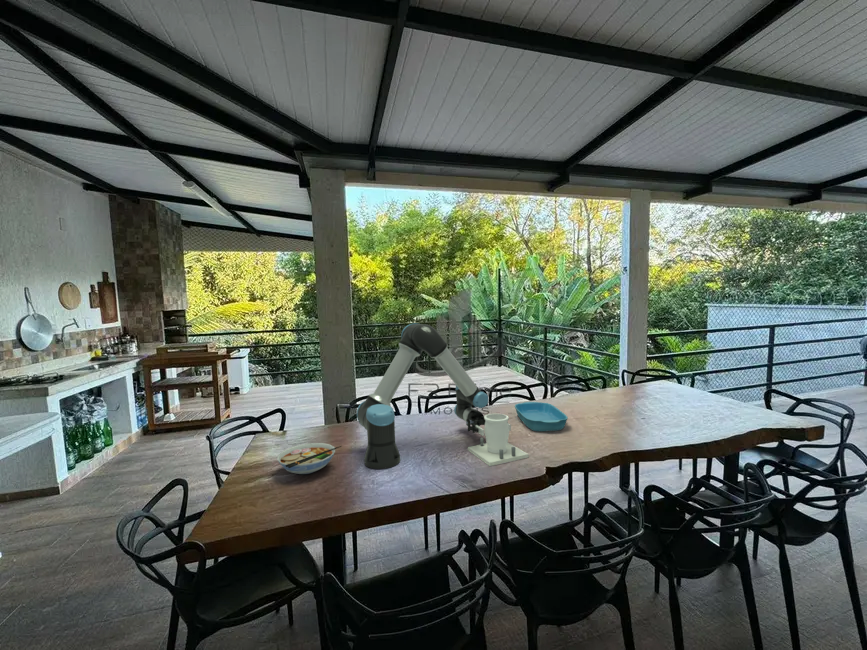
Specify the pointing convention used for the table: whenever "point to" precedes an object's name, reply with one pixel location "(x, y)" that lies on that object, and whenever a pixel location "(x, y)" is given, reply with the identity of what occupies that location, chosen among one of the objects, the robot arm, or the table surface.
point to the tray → (495, 459)
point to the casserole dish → (541, 416)
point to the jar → (496, 432)
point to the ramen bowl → (306, 457)
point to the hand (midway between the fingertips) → (497, 430)
